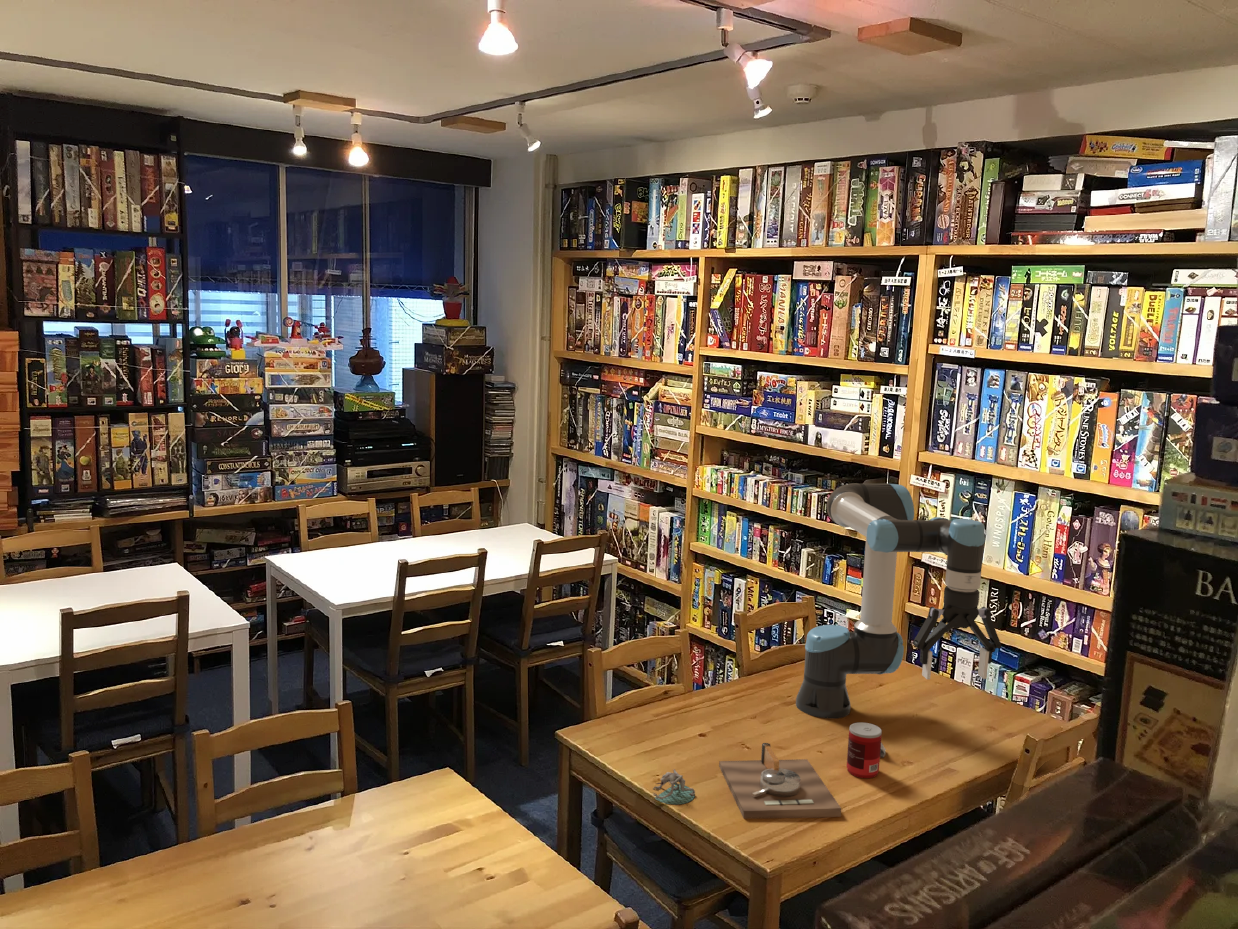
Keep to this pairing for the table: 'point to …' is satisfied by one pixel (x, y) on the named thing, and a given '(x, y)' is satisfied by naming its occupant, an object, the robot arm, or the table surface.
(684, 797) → the figurine
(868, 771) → the canned food
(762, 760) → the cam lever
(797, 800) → the level stand
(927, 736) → the table surface
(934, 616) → the robot arm
